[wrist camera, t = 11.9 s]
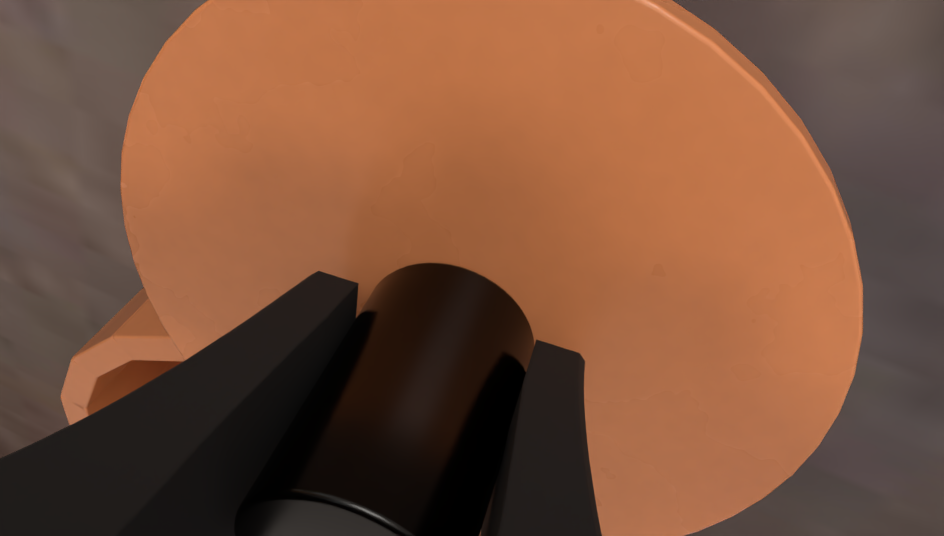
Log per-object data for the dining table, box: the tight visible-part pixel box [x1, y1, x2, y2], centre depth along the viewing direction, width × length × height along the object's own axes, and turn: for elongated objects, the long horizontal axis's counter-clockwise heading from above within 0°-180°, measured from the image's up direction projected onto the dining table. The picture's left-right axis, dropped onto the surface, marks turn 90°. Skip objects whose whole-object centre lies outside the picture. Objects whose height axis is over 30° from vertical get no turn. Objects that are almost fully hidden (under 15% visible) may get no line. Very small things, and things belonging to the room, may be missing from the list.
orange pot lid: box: [121, 0, 863, 536], centre depth 10 cm, size 11×11×5 cm
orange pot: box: [61, 287, 185, 425], centre depth 22 cm, size 10×10×6 cm
